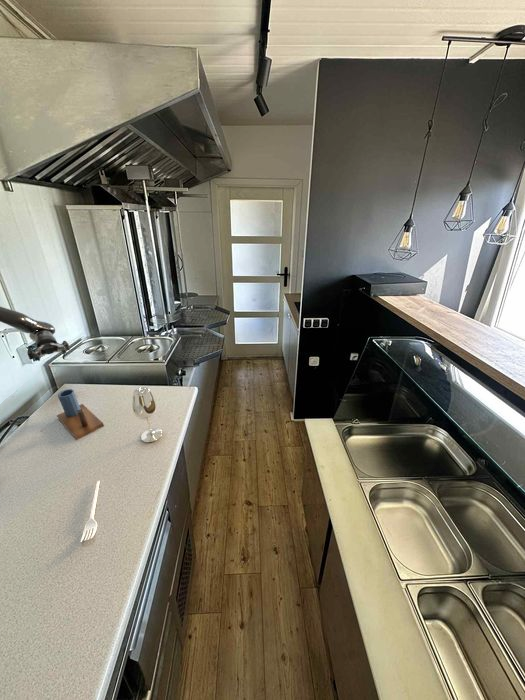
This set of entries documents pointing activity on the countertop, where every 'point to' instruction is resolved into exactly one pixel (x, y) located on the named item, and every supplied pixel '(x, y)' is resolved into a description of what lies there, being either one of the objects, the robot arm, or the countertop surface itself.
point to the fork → (91, 517)
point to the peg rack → (80, 422)
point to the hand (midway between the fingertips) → (51, 355)
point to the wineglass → (145, 412)
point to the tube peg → (69, 402)
